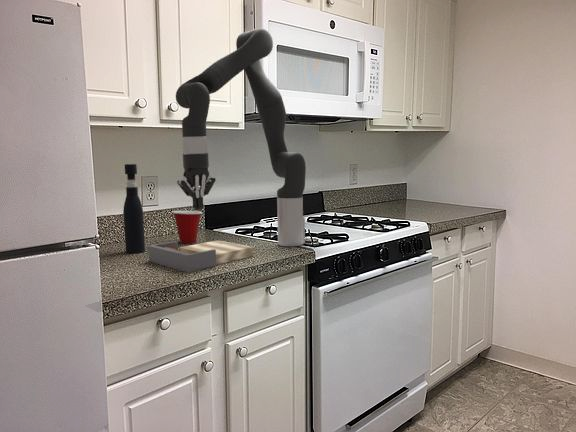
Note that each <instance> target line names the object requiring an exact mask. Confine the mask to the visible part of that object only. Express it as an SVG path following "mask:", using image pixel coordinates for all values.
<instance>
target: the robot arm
mask: <svg viewBox="0 0 576 432" xmlns="http://www.w3.org/2000/svg"><path fill="white" fill-rule="evenodd" d="M235 46H236V50H234V51H232V52H231V53H229V54H227V55H225V56H223V57H221V58H219V59H218V60H216V61H215V62H213V63H212V64H211V65H209V66H208V67H207V68H206V69H204V70H203V71H202V72H201V73H200V74H198V75H195V76H194V77H192V78H191V79H188V80H187V81H185V82H184V83H182V84H181V85H180V86H179V87H178V88H177V89H176V92H175V100H176V103H177V104H178V105H179V106H180V107H181V108H182V109H183V108H184V109H188V114H187V116H185V117H183V119H182V121H181V129H182V132H181V133H182V135H181V136H182V142H181V146H182V147H181V149H182V165H183V166H182V167H183V169H184V172H183V174H182V175H183V176H182V178H181V179H178V180H177V182H176V184H177V185H178V186H179V188H180V189H181V190H182V192H183V193H184V194H185V196H187V197H190V198H191V199H192V208H193V209H194V211H203V208H204V197H205V196H208V195H209V193H210V191H211V190H212V187H213V186H214V185H215V182H216V178H215V177H212V176H211V175H210V171H209V167H210V166H209V165H210V164H209V143H208V138H207V137H208V136H207V120H208V119H207V118H208V115H209V109H210V104H211V96H210V95H211V94H214V93H216V92H218V91H219V90H220V89H222V88H223V87H224V86H225V85H227V84H228V83H229V82H230V81H231V80H232V79H234V78H235V77H236V76H237V75H239V74H240V73H241V72H243V71H244V73H245V75H246V78H247V80H248V83H249V87H250V89H251V92H252V96H253V98H254V102H255V106H256V110H257V113H258V117H259V119H260V122H261V126H262V129H263V132H264V135H265V139H266V143H267V149H268V152H269V158H270V163H271V167H272V168H271V169H272V171H273V172H274V175H276V176H277V177H279V178H281V179H284V184H283V186H281V187H280V188H278V189H277V191H276V205H277V206H276V207H277V216H276V217H277V245H278V246H281V247H298V246H299V247H300V246H302V245H304V244H305V243H306V233H305V232H306V223H305V221H306V220H305V217H304V210H303V209H304V206H303V203H304V202H303V201H304V199H303V197H304V196H303V195H304V191H305V187H306V171H307V168H306V166H307V165H306V161H305V157H304V156H303V155H302V153H299V152H295V151H293V152H292V151H291V152H289V151H288V149H287V148H288V147H287V146H286V142H285V137H284V136H285V128H286V127H285V126H286V123H287V122H286V121H287V111H286V108H285V103H284V101H283V96H282V94H281V92H280V91H279V90H278V88H277V87H276V86H275V84H274V83H273V82H272V81H271V80H270V78H268V77H269V76H267V74H266V73H265V70H264V68H263V65H262V62H261V59H264V58H266V57H268V56H269V55H270V54H271V53H272V50H273V48H274V39H273V36H272V35H271V33H270V32H269V31H268V30H267V29H265V28H254V29H251V30H248V31H243V32H241V33H240V34H238V36H237V37H236V41H235Z"/></svg>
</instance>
